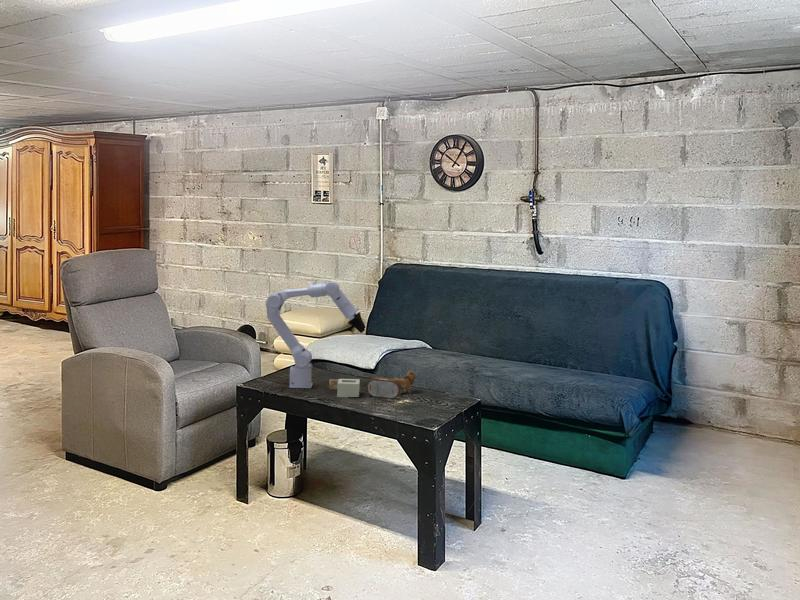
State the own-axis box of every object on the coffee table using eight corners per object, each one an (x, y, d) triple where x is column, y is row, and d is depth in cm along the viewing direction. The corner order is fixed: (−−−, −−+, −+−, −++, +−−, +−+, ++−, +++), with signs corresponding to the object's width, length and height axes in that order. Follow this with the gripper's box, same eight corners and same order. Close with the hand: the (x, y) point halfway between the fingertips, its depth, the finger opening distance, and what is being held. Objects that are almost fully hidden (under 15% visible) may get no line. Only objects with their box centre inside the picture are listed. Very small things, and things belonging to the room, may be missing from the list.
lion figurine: (410, 389, 313) (411, 369, 312) (418, 391, 309) (418, 371, 308) (384, 394, 304) (384, 373, 303) (391, 396, 300) (392, 376, 299)
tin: (401, 398, 298) (402, 379, 297) (399, 400, 295) (400, 380, 294) (367, 395, 302) (368, 375, 301) (365, 396, 299) (366, 377, 298)
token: (329, 389, 309) (329, 380, 308) (329, 388, 311) (329, 379, 310) (338, 389, 309) (338, 380, 308) (338, 388, 311) (338, 379, 310)
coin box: (337, 397, 296) (337, 383, 296) (338, 392, 304) (338, 378, 304) (358, 397, 297) (358, 383, 296) (359, 392, 304) (359, 379, 304)
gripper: (351, 301, 300) (370, 327, 301) (353, 298, 314) (371, 322, 315) (337, 311, 300) (356, 337, 301) (340, 307, 314) (358, 331, 316)
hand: (363, 330), depth 308 cm, fingers open, 7 cm apart
